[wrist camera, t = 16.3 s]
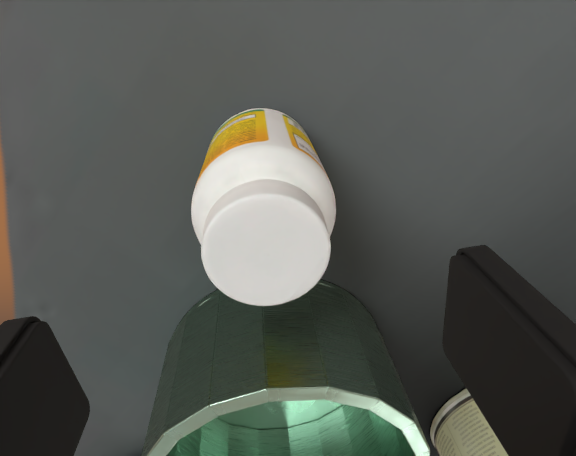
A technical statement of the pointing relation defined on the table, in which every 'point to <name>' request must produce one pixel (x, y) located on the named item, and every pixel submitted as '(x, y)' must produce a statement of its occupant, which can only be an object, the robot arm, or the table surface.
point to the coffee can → (463, 430)
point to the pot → (281, 382)
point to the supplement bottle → (263, 209)
